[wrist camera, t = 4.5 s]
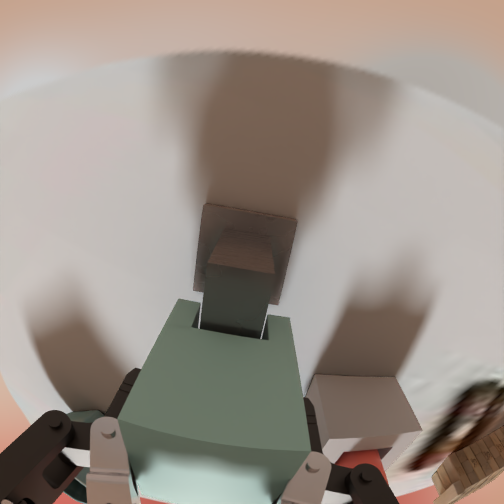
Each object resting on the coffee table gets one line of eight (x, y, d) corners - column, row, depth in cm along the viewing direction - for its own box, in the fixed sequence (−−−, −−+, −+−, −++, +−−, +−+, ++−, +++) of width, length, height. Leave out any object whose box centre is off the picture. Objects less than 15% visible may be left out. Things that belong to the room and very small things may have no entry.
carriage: (289, 317, 12) (311, 450, 6) (263, 404, 14) (263, 514, 8) (178, 298, 12) (117, 418, 6) (174, 389, 14) (142, 494, 8)
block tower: (544, 391, 25) (440, 457, 25) (564, 414, 17) (459, 497, 17) (527, 417, 27) (423, 479, 28) (544, 440, 19) (438, 515, 20)
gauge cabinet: (395, 376, 19) (422, 430, 13) (361, 429, 21) (376, 479, 15) (310, 373, 19) (324, 438, 13) (286, 429, 21) (291, 485, 15)
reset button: (381, 432, 15) (397, 479, 11) (362, 455, 16) (374, 499, 12) (341, 434, 15) (353, 486, 11) (325, 457, 16) (333, 504, 12)
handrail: (296, 219, 15) (317, 253, 10) (231, 466, 23) (227, 512, 18) (205, 203, 15) (174, 229, 10) (184, 459, 23) (175, 504, 18)
